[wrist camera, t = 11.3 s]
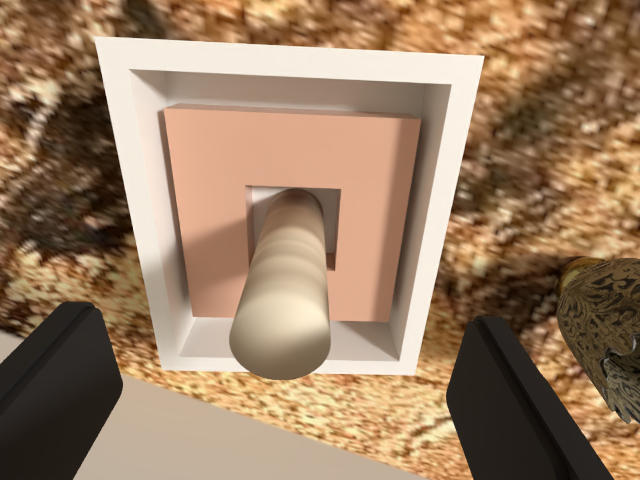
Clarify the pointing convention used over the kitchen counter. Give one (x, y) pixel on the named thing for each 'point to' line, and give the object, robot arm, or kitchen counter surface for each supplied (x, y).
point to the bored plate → (291, 171)
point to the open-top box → (286, 92)
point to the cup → (604, 326)
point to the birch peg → (285, 293)
